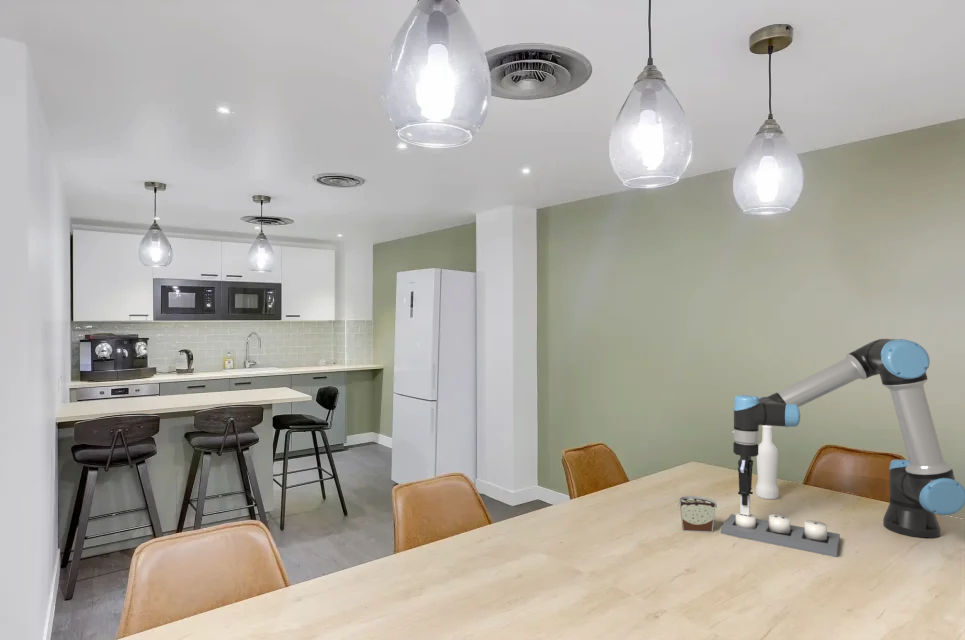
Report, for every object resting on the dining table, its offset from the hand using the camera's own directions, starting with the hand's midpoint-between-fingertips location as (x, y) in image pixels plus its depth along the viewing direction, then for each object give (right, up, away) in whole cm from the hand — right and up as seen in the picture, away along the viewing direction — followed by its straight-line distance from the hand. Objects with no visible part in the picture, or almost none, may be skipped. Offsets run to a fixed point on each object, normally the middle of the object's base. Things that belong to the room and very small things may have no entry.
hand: (745, 514), depth 188 cm
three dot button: (0, -5, 0) cm, 5 cm away
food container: (-16, -5, +1) cm, 17 cm away
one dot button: (+16, -3, -11) cm, 20 cm away
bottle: (+26, -6, +37) cm, 45 cm away
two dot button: (+8, -3, -6) cm, 11 cm away
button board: (+8, -5, -6) cm, 11 cm away
